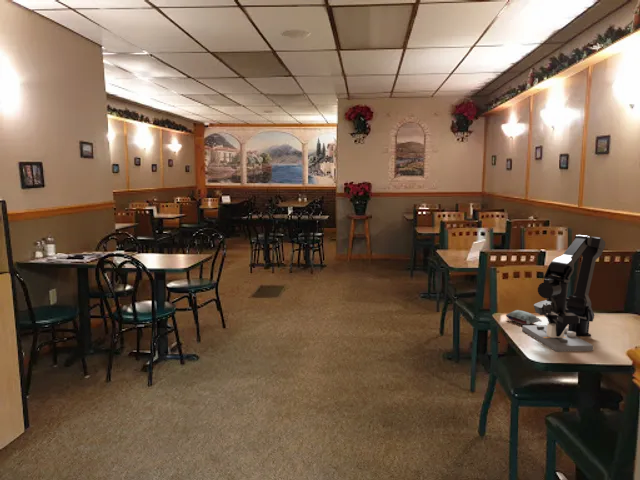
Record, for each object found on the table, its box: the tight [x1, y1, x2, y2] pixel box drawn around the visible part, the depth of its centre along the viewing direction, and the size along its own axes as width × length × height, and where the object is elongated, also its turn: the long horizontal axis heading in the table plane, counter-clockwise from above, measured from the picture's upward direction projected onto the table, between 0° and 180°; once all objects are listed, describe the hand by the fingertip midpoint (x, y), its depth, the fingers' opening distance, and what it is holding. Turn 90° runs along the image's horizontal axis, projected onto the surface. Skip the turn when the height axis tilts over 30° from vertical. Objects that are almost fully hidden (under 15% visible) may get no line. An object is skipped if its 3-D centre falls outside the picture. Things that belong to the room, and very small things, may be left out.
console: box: [521, 324, 594, 352], centre depth 183 cm, size 24×14×4 cm, turn 5°
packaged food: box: [505, 309, 543, 325], centre depth 205 cm, size 9×12×5 cm
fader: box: [546, 322, 565, 338], centre depth 180 cm, size 3×5×5 cm, turn 95°
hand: (555, 334), depth 180 cm, fingers closed on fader, 3 cm apart
